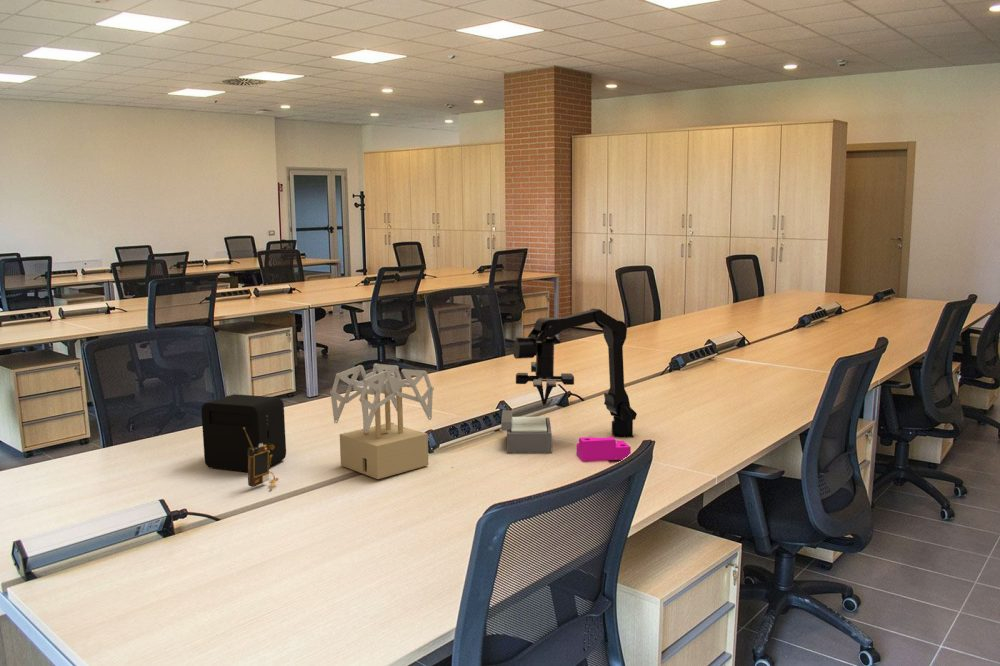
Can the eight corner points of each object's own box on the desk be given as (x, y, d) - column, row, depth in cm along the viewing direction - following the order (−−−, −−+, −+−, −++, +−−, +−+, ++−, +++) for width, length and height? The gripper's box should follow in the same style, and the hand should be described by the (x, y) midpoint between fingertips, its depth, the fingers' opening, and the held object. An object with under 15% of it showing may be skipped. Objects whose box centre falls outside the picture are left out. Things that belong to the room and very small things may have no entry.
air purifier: (290, 459, 239) (287, 396, 236) (261, 473, 225) (257, 406, 223) (235, 454, 245) (232, 392, 243) (204, 467, 232) (200, 402, 229)
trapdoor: (545, 418, 260) (545, 409, 260) (547, 432, 242) (546, 422, 242) (502, 418, 261) (502, 409, 261) (501, 432, 243) (501, 422, 243)
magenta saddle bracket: (582, 441, 232) (576, 435, 239) (582, 461, 232) (576, 454, 240) (630, 438, 234) (623, 432, 241) (630, 458, 235) (622, 452, 242)
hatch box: (549, 435, 263) (549, 417, 262) (551, 453, 242) (551, 433, 241) (508, 435, 263) (508, 417, 262) (507, 453, 242) (506, 433, 241)
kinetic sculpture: (368, 481, 216) (365, 376, 213) (330, 467, 231) (325, 368, 227) (436, 462, 233) (434, 365, 230) (396, 450, 248) (393, 357, 244)
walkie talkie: (254, 494, 207) (250, 429, 205) (224, 485, 215) (221, 422, 213) (293, 481, 218) (290, 419, 215) (264, 473, 225) (260, 413, 223)
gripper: (572, 354, 256) (571, 400, 258) (516, 353, 257) (515, 399, 258) (574, 359, 245) (573, 407, 247) (516, 358, 246) (515, 406, 247)
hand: (544, 404), depth 250 cm, fingers closed
